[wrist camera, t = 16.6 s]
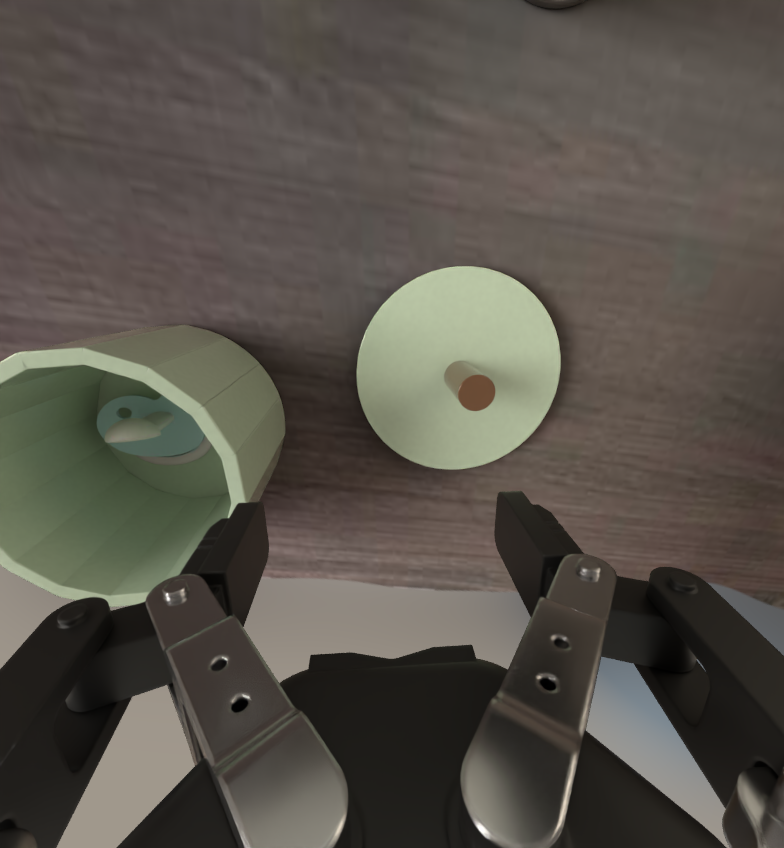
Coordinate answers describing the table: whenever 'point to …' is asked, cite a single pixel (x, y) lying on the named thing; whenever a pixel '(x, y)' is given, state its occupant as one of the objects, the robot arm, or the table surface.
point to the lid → (458, 367)
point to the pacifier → (152, 430)
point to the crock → (126, 458)
